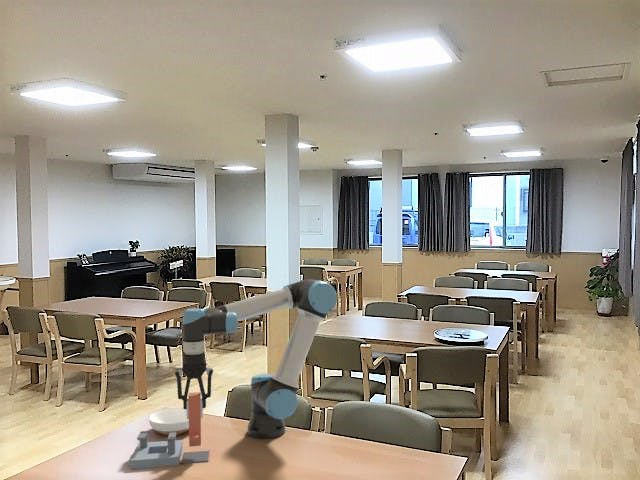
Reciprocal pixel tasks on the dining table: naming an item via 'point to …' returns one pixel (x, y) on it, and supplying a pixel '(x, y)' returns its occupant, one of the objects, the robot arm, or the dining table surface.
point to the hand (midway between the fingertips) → (194, 417)
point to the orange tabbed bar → (194, 419)
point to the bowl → (170, 421)
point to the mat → (195, 457)
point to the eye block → (156, 452)
